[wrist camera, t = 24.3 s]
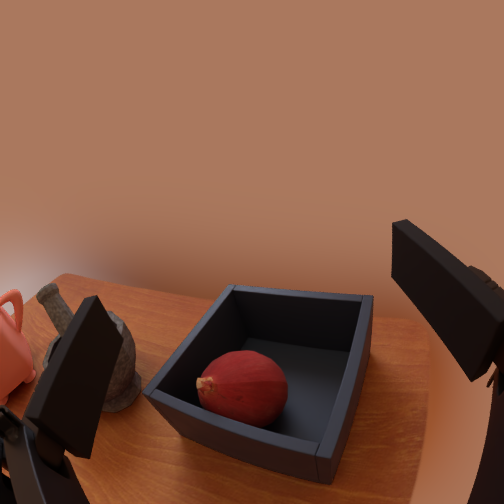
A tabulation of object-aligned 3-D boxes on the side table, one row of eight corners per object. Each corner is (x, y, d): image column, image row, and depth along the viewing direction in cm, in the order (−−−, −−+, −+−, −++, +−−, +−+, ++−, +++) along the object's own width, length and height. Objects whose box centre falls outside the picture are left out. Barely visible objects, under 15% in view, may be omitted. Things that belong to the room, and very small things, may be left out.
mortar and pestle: (174, 384, 24) (112, 283, 19) (106, 443, 19) (17, 355, 13) (122, 341, 32) (74, 259, 26) (68, 384, 26) (9, 305, 20)
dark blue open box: (370, 351, 23) (373, 295, 20) (330, 485, 13) (331, 459, 10) (246, 334, 29) (228, 283, 26) (180, 434, 19) (140, 392, 16)
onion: (273, 442, 18) (193, 452, 13) (234, 394, 22) (156, 383, 17) (322, 390, 18) (253, 386, 13) (275, 344, 22) (201, 319, 17)
